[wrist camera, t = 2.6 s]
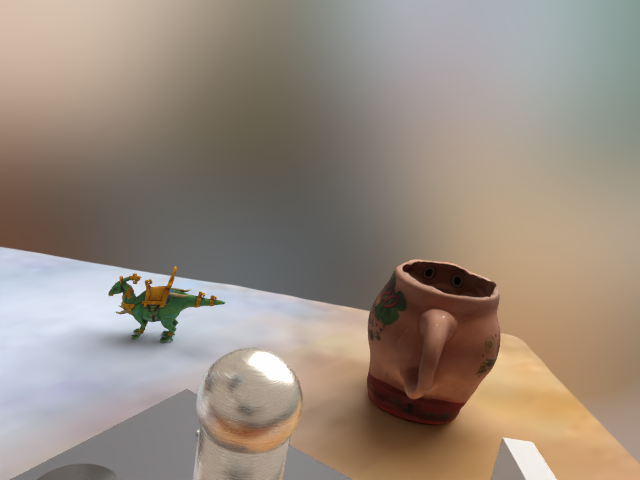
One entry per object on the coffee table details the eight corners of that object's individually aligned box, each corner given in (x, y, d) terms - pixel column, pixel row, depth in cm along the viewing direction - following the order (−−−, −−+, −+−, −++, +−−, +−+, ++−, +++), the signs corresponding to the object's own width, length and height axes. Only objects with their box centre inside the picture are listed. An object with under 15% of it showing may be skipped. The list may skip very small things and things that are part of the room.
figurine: (109, 325, 56) (114, 254, 54) (220, 336, 58) (229, 268, 56) (101, 338, 53) (107, 263, 51) (219, 349, 55) (229, 277, 53)
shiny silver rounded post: (0, 519, 28) (8, 282, 25) (78, 468, 32) (93, 263, 29) (225, 678, 22) (274, 399, 19) (282, 590, 27) (329, 352, 23)
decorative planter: (492, 494, 40) (541, 332, 37) (340, 454, 42) (374, 294, 38) (464, 375, 60) (494, 261, 56) (360, 351, 61) (384, 238, 58)
